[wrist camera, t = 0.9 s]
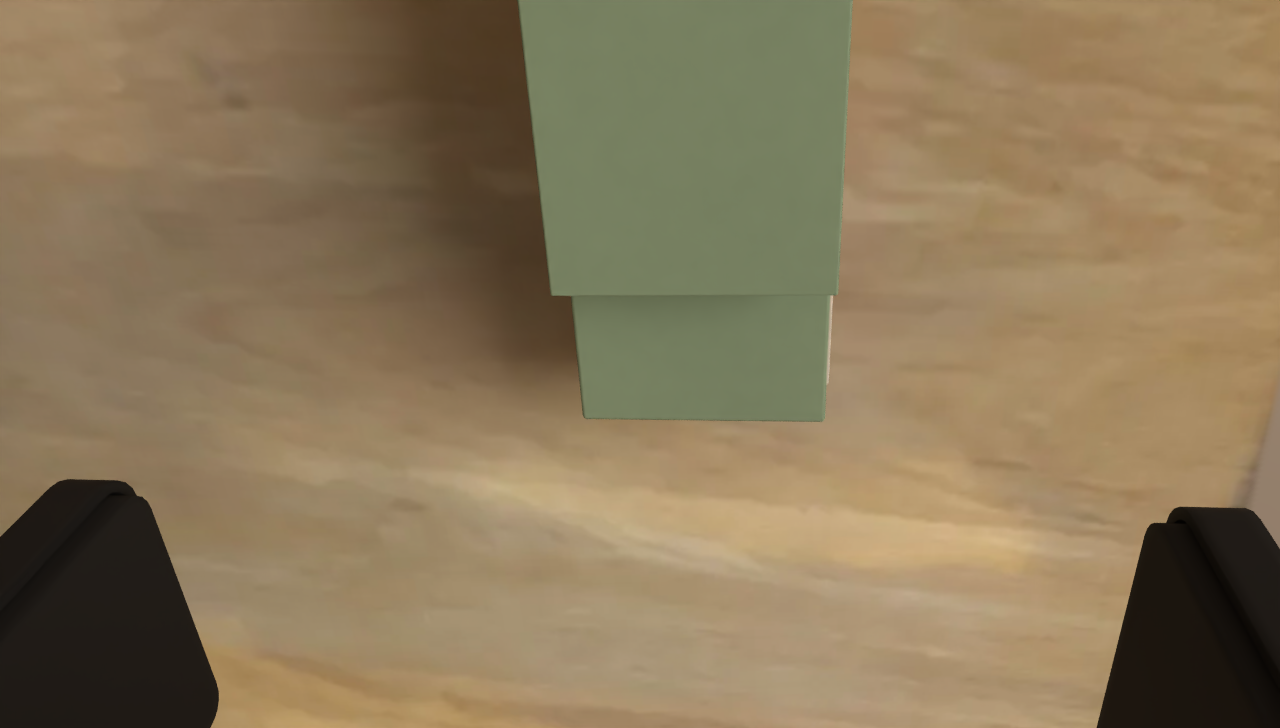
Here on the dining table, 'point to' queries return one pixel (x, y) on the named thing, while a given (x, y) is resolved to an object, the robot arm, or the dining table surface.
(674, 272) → the green block on base
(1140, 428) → the dining table surface
